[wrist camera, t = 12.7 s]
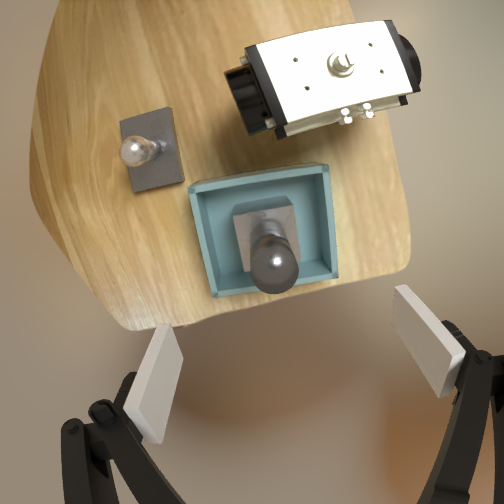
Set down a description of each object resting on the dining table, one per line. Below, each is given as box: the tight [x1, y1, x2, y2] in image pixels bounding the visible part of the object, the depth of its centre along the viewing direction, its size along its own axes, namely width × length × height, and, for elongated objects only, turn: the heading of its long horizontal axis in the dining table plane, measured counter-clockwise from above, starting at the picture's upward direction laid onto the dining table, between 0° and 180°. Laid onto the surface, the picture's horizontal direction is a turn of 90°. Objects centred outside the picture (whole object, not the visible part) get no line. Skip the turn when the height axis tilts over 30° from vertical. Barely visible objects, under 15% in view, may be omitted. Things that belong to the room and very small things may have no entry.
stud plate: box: [119, 107, 185, 193], centre depth 33 cm, size 10×7×9 cm
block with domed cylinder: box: [233, 195, 302, 294], centre depth 32 cm, size 7×7×16 cm
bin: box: [188, 162, 339, 298], centre depth 38 cm, size 14×16×6 cm
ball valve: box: [224, 20, 421, 141], centre depth 27 cm, size 18×8×18 cm, turn 110°
